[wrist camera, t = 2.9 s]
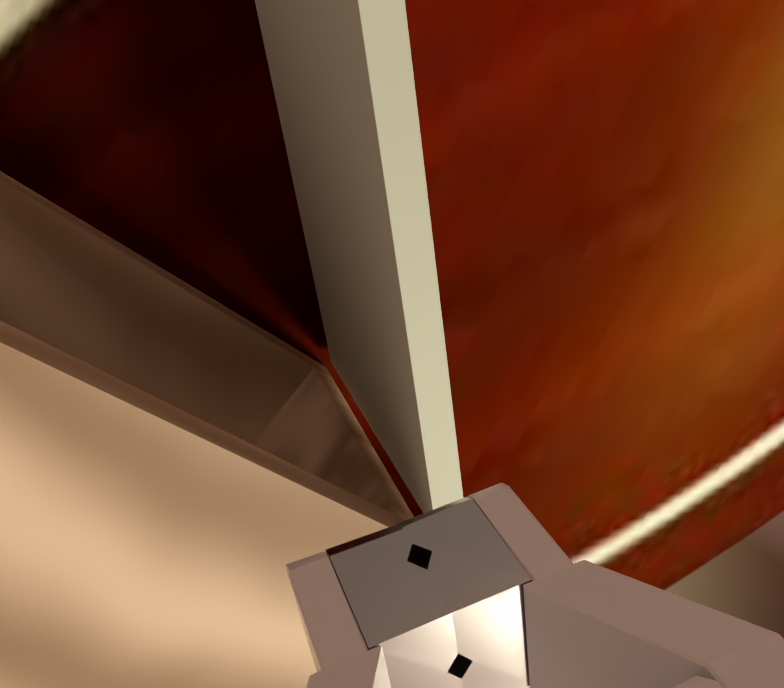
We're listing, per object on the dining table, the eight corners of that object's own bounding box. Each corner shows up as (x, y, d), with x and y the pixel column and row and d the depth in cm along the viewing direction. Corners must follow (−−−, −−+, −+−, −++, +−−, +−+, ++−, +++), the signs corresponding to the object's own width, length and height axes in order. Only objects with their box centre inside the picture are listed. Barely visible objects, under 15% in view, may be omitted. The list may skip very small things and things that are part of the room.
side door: (304, -86, 24) (449, -107, 15) (378, 347, 33) (501, 510, 23) (238, -75, 24) (344, -90, 14) (331, 361, 32) (436, 534, 23)
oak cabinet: (-76, 125, 24) (-187, 252, 14) (325, 366, 33) (432, 548, 23) (-292, 454, 26) (-525, 773, 16) (142, 595, 35) (167, 853, 25)
